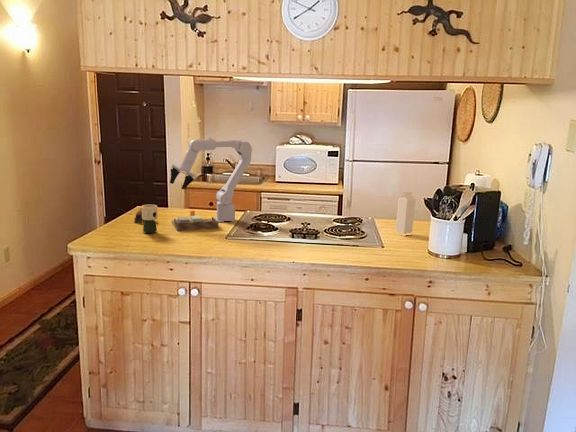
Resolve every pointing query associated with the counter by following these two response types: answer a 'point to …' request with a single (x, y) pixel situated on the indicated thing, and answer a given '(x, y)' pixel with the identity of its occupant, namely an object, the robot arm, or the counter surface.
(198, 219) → the rod with orange block
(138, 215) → the dark brown lumpy figurine
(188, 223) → the lane shelf
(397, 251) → the counter surface
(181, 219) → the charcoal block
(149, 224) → the character mug
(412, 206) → the milk
